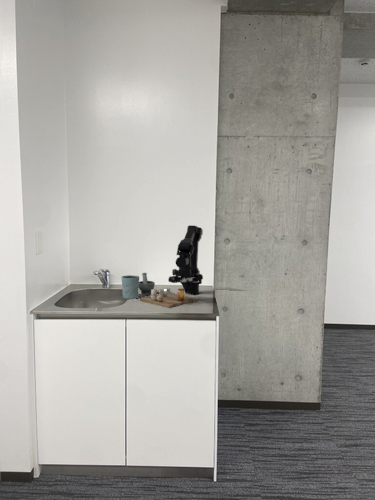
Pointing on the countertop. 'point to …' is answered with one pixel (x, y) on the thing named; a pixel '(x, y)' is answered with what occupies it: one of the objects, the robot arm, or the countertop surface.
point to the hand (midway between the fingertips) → (186, 293)
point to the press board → (166, 300)
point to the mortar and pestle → (146, 285)
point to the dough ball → (159, 297)
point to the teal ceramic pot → (130, 286)
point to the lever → (173, 293)
